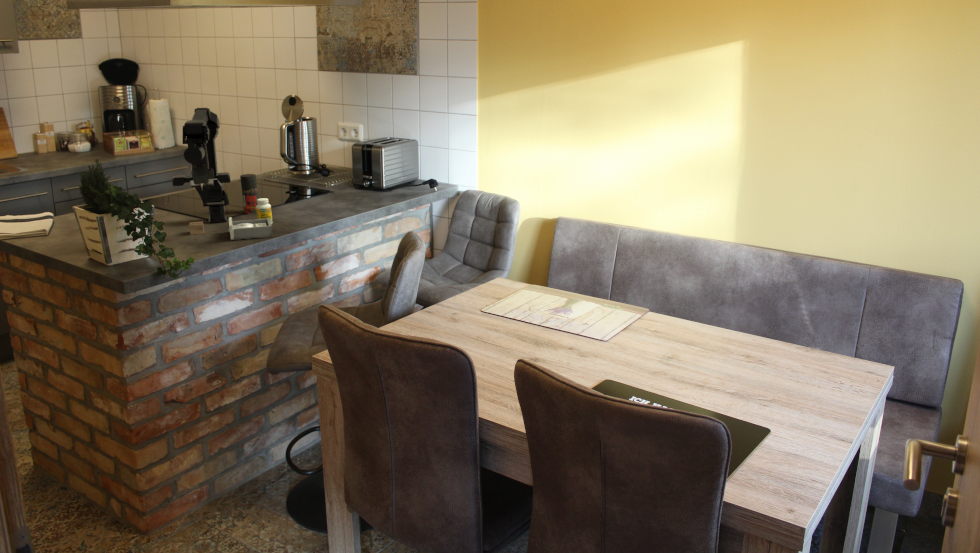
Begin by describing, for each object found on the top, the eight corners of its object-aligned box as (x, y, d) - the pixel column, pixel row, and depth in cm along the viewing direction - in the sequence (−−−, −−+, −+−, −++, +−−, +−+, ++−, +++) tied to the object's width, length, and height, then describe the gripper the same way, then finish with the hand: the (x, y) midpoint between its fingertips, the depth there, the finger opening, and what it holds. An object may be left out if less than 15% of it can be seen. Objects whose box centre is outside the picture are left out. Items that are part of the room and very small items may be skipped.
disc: (235, 228, 262) (235, 223, 261) (253, 227, 264) (252, 221, 263) (235, 232, 257) (235, 227, 256) (253, 231, 259) (252, 225, 258)
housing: (233, 231, 265) (232, 221, 264) (270, 228, 269) (269, 218, 268) (234, 240, 254) (233, 229, 253) (273, 237, 258) (272, 226, 257)
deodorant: (241, 213, 292) (236, 176, 287) (250, 209, 297) (247, 173, 292) (253, 214, 290) (249, 177, 285) (262, 211, 295) (258, 174, 290)
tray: (228, 230, 265) (227, 217, 263) (266, 227, 269) (264, 214, 267) (229, 239, 253) (227, 225, 252) (268, 236, 258) (266, 222, 256)
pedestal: (191, 231, 265) (189, 222, 264) (204, 230, 266) (202, 221, 265) (190, 234, 261) (189, 225, 260) (203, 233, 262) (202, 224, 261)
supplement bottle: (270, 221, 279) (267, 197, 276) (274, 224, 275) (272, 199, 272) (256, 223, 277) (253, 198, 273) (260, 226, 272) (257, 201, 269)
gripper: (168, 164, 241) (175, 210, 246) (228, 161, 246) (233, 206, 252) (170, 159, 251) (176, 203, 256) (227, 156, 256) (232, 199, 261)
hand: (204, 203), depth 256 cm, fingers closed
